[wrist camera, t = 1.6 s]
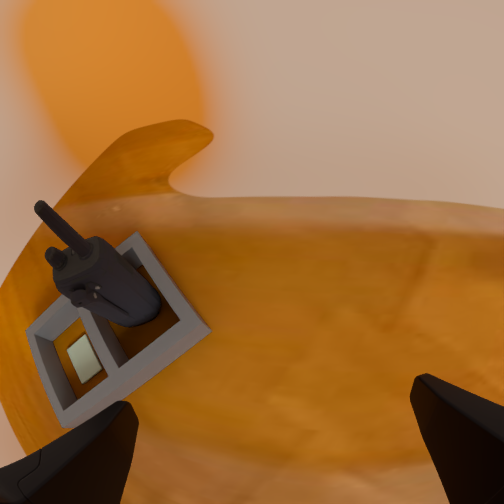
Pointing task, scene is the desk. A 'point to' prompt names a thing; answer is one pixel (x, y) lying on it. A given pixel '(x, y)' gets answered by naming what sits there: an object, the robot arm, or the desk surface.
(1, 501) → the robot arm
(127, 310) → the two-way radio
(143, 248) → the charging station
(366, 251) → the desk surface
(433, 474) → the desk surface
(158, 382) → the desk surface
